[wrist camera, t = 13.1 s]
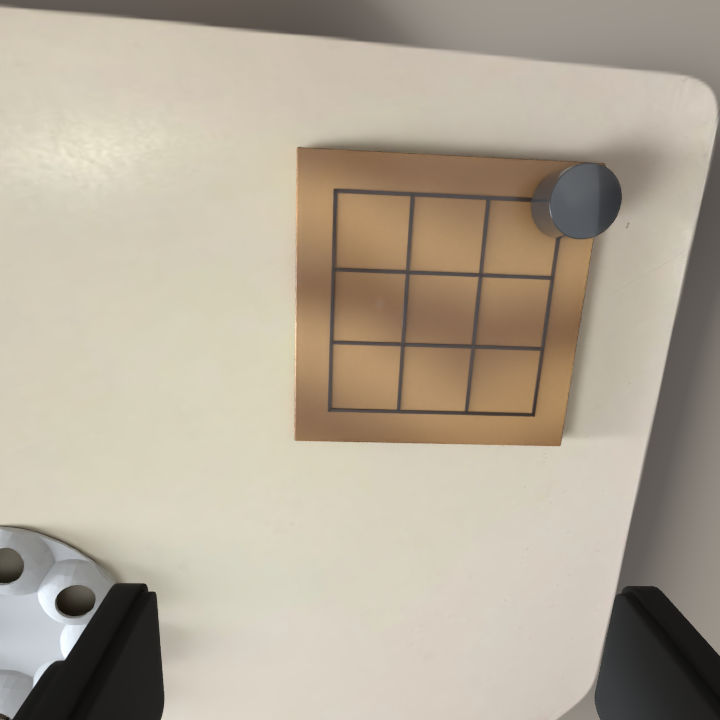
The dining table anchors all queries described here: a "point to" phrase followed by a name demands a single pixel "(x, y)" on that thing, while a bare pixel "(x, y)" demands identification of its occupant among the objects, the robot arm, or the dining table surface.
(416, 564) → the dining table surface
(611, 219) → the grey metallic short cylinder
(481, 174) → the game board
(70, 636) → the round palette
